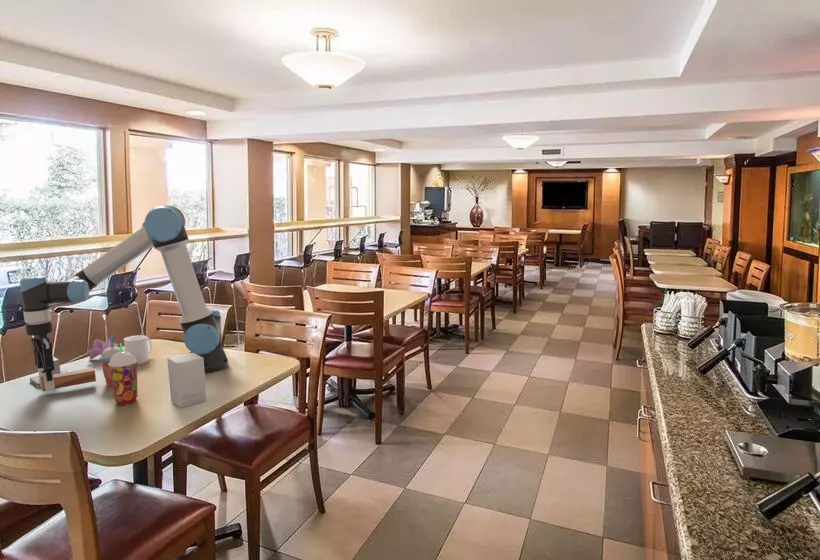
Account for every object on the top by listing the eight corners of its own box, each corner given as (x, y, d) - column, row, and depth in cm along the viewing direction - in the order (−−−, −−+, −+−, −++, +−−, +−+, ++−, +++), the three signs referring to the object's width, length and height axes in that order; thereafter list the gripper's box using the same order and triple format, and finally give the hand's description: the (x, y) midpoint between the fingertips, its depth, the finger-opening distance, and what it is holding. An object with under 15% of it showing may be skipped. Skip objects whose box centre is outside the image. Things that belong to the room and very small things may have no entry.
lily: (124, 357, 240) (115, 337, 241) (120, 353, 229) (111, 332, 230) (94, 370, 235) (85, 349, 236) (89, 367, 224) (79, 345, 225)
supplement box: (207, 401, 185) (204, 357, 183) (180, 408, 180) (176, 363, 177) (197, 394, 192) (194, 351, 190) (170, 400, 186) (166, 357, 184)
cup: (121, 363, 227) (119, 339, 226) (144, 355, 239) (142, 332, 237) (137, 365, 225) (134, 341, 223) (159, 357, 236) (157, 334, 234)
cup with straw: (122, 377, 210) (117, 331, 207) (135, 382, 205) (130, 334, 202) (97, 384, 203) (92, 336, 200) (109, 389, 198) (104, 340, 195)
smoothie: (121, 397, 190) (115, 340, 187) (145, 397, 190) (140, 340, 186) (107, 406, 182) (100, 347, 178) (132, 406, 181) (126, 346, 178)
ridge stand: (75, 379, 209) (73, 357, 208) (38, 387, 200) (35, 364, 199) (66, 373, 216) (64, 352, 214) (30, 381, 207) (27, 359, 206)
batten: (96, 381, 200) (94, 370, 199) (42, 391, 191) (41, 379, 191) (95, 378, 203) (93, 367, 202) (42, 387, 195) (41, 376, 194)
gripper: (59, 323, 187) (68, 390, 190) (43, 316, 198) (51, 379, 202) (33, 328, 181) (43, 396, 185) (18, 320, 193) (27, 385, 197)
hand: (47, 387), depth 194 cm, fingers closed on batten, 5 cm apart
